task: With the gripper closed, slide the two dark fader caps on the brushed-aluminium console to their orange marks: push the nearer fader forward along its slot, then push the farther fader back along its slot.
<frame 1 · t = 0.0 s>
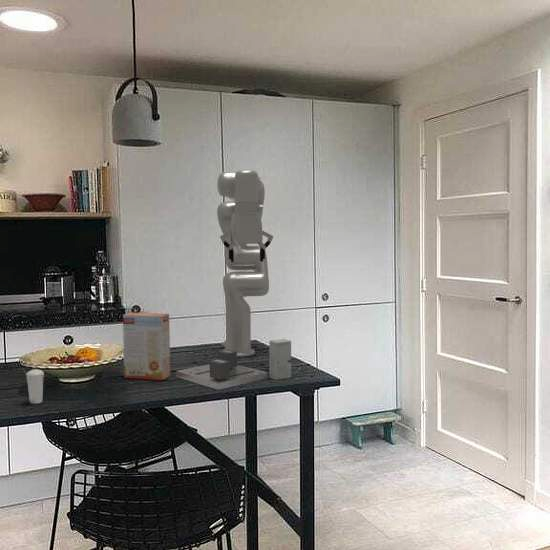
hand: (246, 261, 201), 37 cm above the table, tool pointing down, fingers open, 9 cm apart
milkshake: (34, 403, 171), on the table
console: (221, 377, 199), on the table
cracker box: (147, 378, 199), on the table
fader 2: (219, 369, 189), point 5 cm above the table, slide at 0.0 cm
skincare box: (280, 378, 199), on the table
fader 1: (227, 358, 204), point 5 cm above the table, slide at 0.0 cm
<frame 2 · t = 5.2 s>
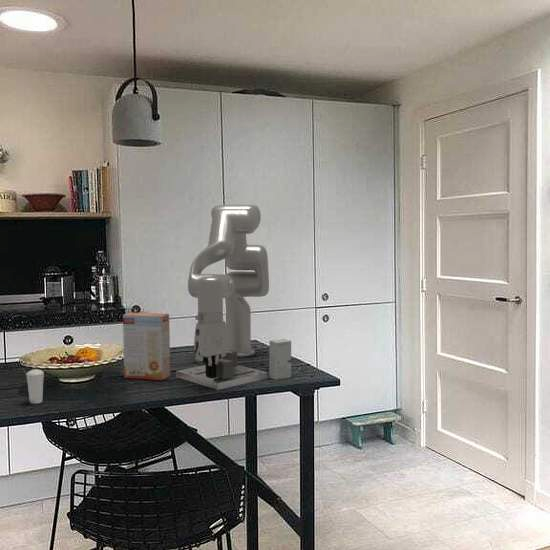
hand: (211, 377, 187), 3 cm above the table, tool pointing down, fingers closed
fader 2: (223, 368, 190), point 5 cm above the table, slide at 1.4 cm, touching gripper
everything else where it was.
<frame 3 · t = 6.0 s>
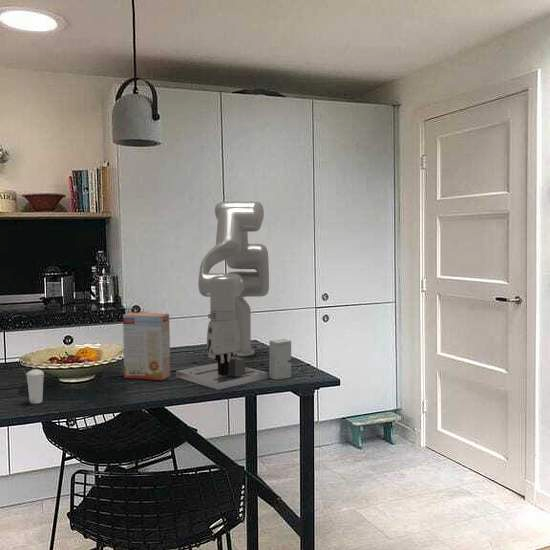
hand: (223, 374, 190), 3 cm above the table, tool pointing down, fingers closed
fader 2: (235, 366, 193), point 5 cm above the table, slide at 6.1 cm, touching gripper
everything else where it was.
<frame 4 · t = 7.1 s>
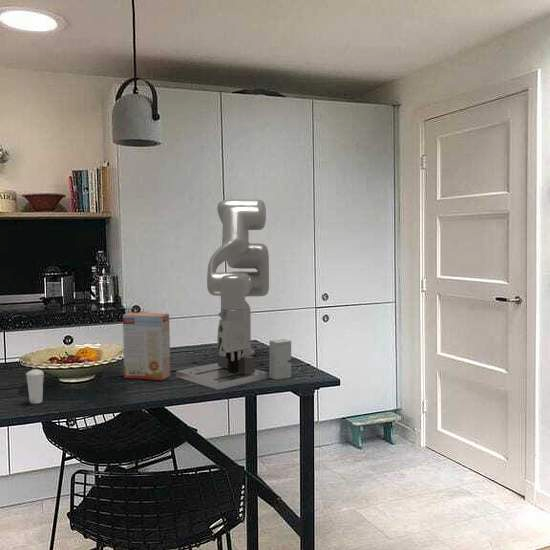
hand: (233, 372, 193), 3 cm above the table, tool pointing down, fingers closed
fader 2: (244, 364, 196), point 5 cm above the table, slide at 10.1 cm, touching gripper
everything else where it was.
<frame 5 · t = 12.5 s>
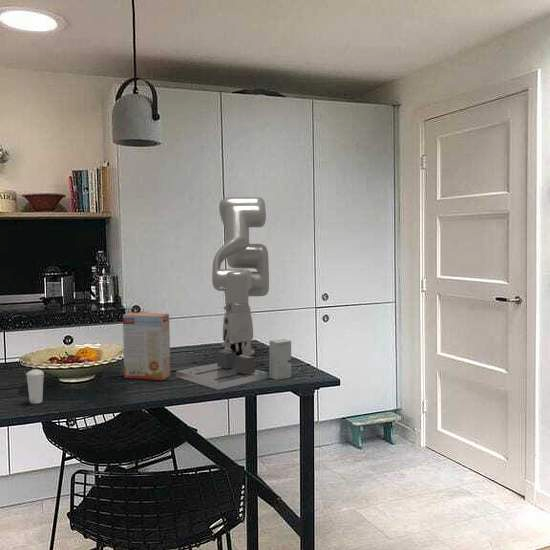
hand: (237, 362, 207), 3 cm above the table, tool pointing down, fingers closed
fader 2: (245, 364, 196), point 5 cm above the table, slide at 10.2 cm
fader 1: (226, 359, 204), point 5 cm above the table, slide at 0.3 cm, touching gripper
everything else where it was.
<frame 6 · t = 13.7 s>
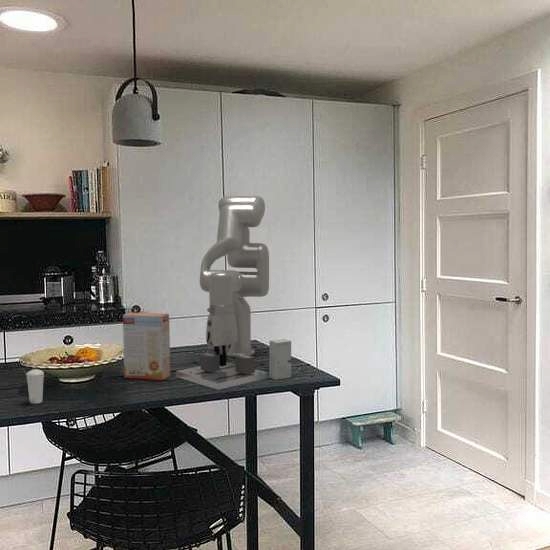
hand: (221, 365, 202), 3 cm above the table, tool pointing down, fingers closed
fader 1: (210, 362, 199), point 5 cm above the table, slide at 7.2 cm, touching gripper
everything else where it was.
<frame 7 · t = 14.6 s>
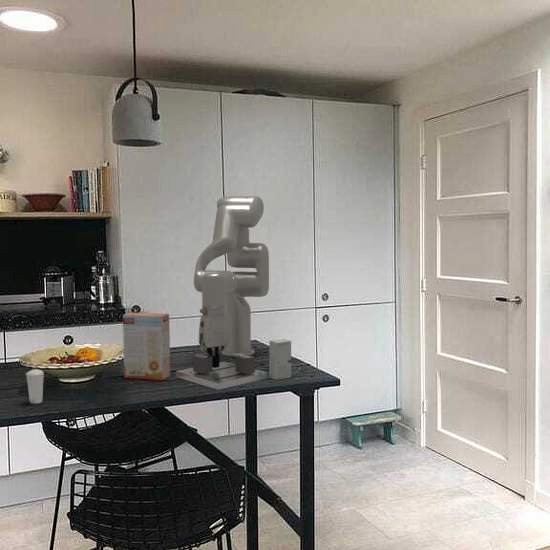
hand: (214, 366, 200), 3 cm above the table, tool pointing down, fingers closed
fader 1: (202, 363, 197), point 5 cm above the table, slide at 10.1 cm, touching gripper
everything else where it was.
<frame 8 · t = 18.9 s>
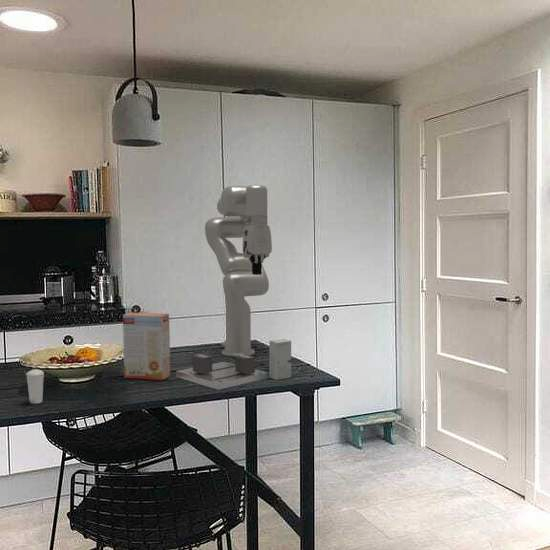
hand: (256, 274, 213), 32 cm above the table, tool pointing down, fingers closed
fader 1: (202, 363, 197), point 5 cm above the table, slide at 10.2 cm
everything else where it was.
at the end: fader 2 slide at 10.2 cm; fader 1 slide at 10.2 cm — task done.
